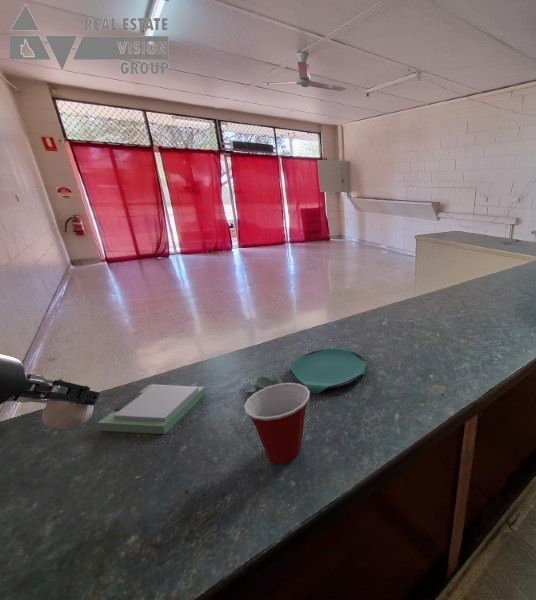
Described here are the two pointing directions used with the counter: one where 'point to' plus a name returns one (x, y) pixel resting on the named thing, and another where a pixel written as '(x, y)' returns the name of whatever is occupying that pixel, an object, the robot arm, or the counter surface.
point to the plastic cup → (279, 419)
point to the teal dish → (321, 370)
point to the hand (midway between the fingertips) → (75, 397)
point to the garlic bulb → (66, 414)
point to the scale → (152, 409)
